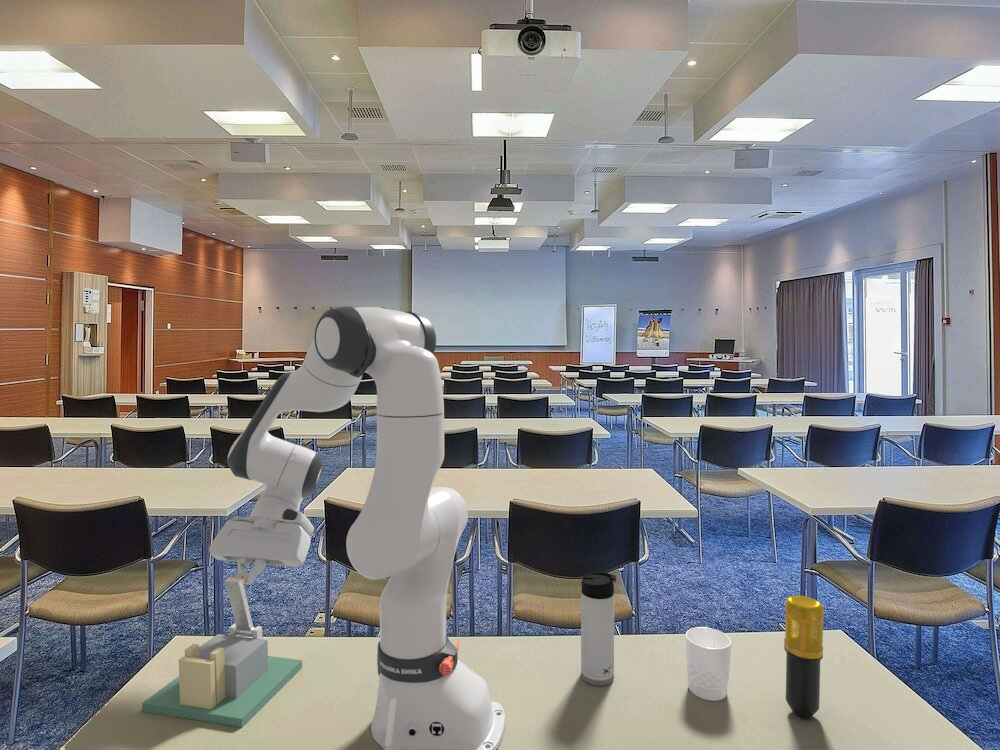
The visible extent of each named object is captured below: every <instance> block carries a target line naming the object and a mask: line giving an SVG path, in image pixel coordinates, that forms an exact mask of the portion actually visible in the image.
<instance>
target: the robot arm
mask: <svg viewBox="0 0 1000 750" xmlns="http://www.w3.org/2000/svg"><path fill="white" fill-rule="evenodd" d="M436 346H437V335H436V330H435V328H434V325H433V324H432V322H431V321H430V320H429V319H428V318H427V317H425V316H423V315H421V314H419V313H416V312H413V311H400V310H396V309H387V308H384V307H379V306H360V307H359V306H357V307H353V306H349V305H347V306H345V305H344V306H340V307H339V306H338V307H333V308H331V309H329V310H325V312H324V313H322V314H321V316H320V318H319V319H318V321H317V323H316V325H315V330H314V337H313V339H312V341H311V344H310V346H309V347H308V350H307V351H306V355H305V357H304V359H303V362H302V364H301V366H300V367H298V368H297V369H296V370H294V371H293V372H286V373H283V374H281V376H279V377H278V378H277V380H276V381H275V382H274V383H273V385H272V386H271V388H270V390H269V391H268V393H266V395H265V397H264V399H263V400H262V402H261V403H260V405H259V407H258V408H257V410H256V411H255V413H254V414H253V416H252V418H251V420H249V423H248V424H247V426H246V427H245V429H244V431H243V432H242V433H241V434H240V435H239V436H237V438H236V440H235V441H234V442H233V443H232V445H231V447H230V449H229V452H228V454H227V460H226V462H227V465H228V467H229V470H230V471H231V473H232V475H234V476H235V477H237V478H241V479H245V480H248V481H249V480H250V481H254V482H257V483H261V484H264V485H265V489H264V491H263V492H262V493H261V495H259V497H258V499H257V501H256V503H255V505H254V507H253V509H252V511H251V513H250V515H249V516H239V515H238V516H234V517H233V518H231V519H229V520H227V521H226V522H224V523H225V524H224V525H223V526H222V528H221V529H220V530H219V532H218V533H217V535H216V536H215V538H214V539H213V541H212V542H211V544H210V546H209V549H208V550H209V554H210V556H212V557H213V558H214V559H215V560H218V561H223V562H224V561H225V562H235V563H236V562H237V564H236V565H237V574H236V576H235V577H240V578H244V579H245V583H244V584H243V585H250V586H252V585H253V583H254V581H255V579H256V578H257V577H258V576H259V575H260V574H261V573H262V572H263V571H264V570H265V569H266V567H267V565H271V566H281V567H282V566H283V567H293V568H299V567H300V566H302V564H303V563H305V560H306V559H307V556H308V554H309V553H308V552H309V549H310V547H311V541H312V539H311V535H312V534H313V533H314V530H315V526H314V525H313V523H312V522H311V521H310V520H309V518H308V517H307V516H305V515H304V514H303V513H302V512H300V509H301V508H300V507H301V503H302V501H303V500H304V499H305V498H307V497H309V496H311V495H312V494H314V493H315V491H316V485H317V484H318V481H319V479H320V478H321V476H322V474H323V472H324V468H325V466H324V462H323V460H322V458H321V455H320V454H319V453H318V452H316V451H314V450H313V449H310V448H307V447H305V446H302V445H299V444H295V443H293V442H289V441H287V440H285V439H282V438H279V437H276V436H274V435H272V434H271V433H270V432H269V430H270V429H271V427H272V426H273V424H274V422H275V421H276V419H277V418H278V416H279V415H280V414H281V413H284V412H285V413H286V412H293V411H294V412H295V411H296V412H297V411H299V412H300V411H301V412H302V411H303V412H311V413H313V412H315V413H325V412H331V411H334V410H337V409H340V408H341V407H344V406H345V405H346V404H348V403H349V402H350V401H351V399H352V397H353V396H354V394H355V392H356V391H357V390H358V387H359V385H360V383H361V380H362V378H363V375H364V374H365V373H366V374H368V375H369V376H370V377H371V378H372V380H373V381H374V383H375V386H376V459H375V466H374V473H373V476H372V480H371V483H370V484H371V485H370V488H369V491H368V494H367V496H366V499H365V501H364V504H363V507H362V509H361V511H360V513H359V515H358V517H357V518H355V520H354V522H353V523H352V524H351V526H350V527H349V530H348V532H347V535H346V554H347V557H348V559H349V562H350V564H351V565H352V567H353V568H354V569H355V570H356V571H357V572H358V573H359V575H360V576H362V577H364V578H365V579H368V580H373V581H376V580H383V579H387V578H389V580H388V582H387V583H386V585H385V587H384V588H383V590H382V593H381V595H380V597H379V598H380V599H379V641H378V644H377V654H376V657H377V658H376V664H377V665H376V666H377V675H378V676H379V679H378V681H379V682H378V691H377V697H376V704H375V709H374V710H375V711H374V714H373V718H372V722H371V724H370V731H371V735H372V738H373V739H374V741H376V743H377V744H378V745H379V746H380V747H382V750H496V749H497V750H498V748H499V746H500V744H501V742H502V740H503V736H504V734H505V733H504V732H505V730H506V729H505V728H506V716H505V715H506V714H505V711H504V708H503V706H502V704H501V703H499V702H496V701H494V700H492V695H491V693H490V692H491V691H490V688H489V685H488V683H487V681H486V680H485V679H484V677H481V676H480V675H479V674H477V673H476V672H474V671H473V670H472V669H471V668H470V667H469V666H467V665H466V664H465V663H463V662H462V661H461V660H460V659H458V657H459V656H458V651H459V649H460V640H459V639H458V640H457V641H456V643H455V645H454V644H453V643H452V642H451V640H450V639H449V637H448V635H447V598H448V597H447V596H448V589H449V583H450V578H451V573H452V570H453V569H452V568H453V566H454V565H453V564H454V559H455V555H456V551H457V547H458V545H459V541H460V538H461V536H462V534H463V532H464V530H465V529H466V526H467V524H468V519H469V511H468V506H467V503H466V501H465V499H464V498H463V497H462V495H461V494H460V493H459V492H458V491H457V490H455V489H454V488H451V487H448V486H433V484H434V480H435V478H436V476H437V474H438V472H439V470H440V469H441V466H442V465H443V463H444V459H445V402H444V401H445V400H444V390H443V389H444V388H443V382H442V376H441V370H440V366H439V362H438V359H437V357H436V356H435V355H434V354H435V351H436V348H437V347H436ZM251 564H253V565H254V566H253V567H252V568H251V569H250V570H249V572H247V571H246V570H247V569H248V568H249V567H250V566H251ZM246 568H247V569H246ZM501 739H502V740H501Z"/></svg>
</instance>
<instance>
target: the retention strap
mask: <svg viewBox="0 0 1000 750" xmlns="http://www.w3.org/2000/svg"><path fill="white" fill-rule="evenodd" d="M224 582H225V587H226V591H227V595H228V596H227V597H228V599H229V603H230V604H229V605H230V606H231V607H230V608H231V612H232V615H233V621H234V624H236V630H235V634H236V635H239V636H240V637H249V638H253V633H252V630H253V629H254V628H255V627H254V625H253V619H252V615H251V612H250V607H249V604H248V598H247V595H246V590H245V584H244V583H245V579H244V578H240V577H236V576H229V577H227V578H226V579H225V580H224Z"/></svg>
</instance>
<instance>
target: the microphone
mask: <svg viewBox="0 0 1000 750" xmlns="http://www.w3.org/2000/svg"><path fill="white" fill-rule="evenodd" d="M784 606H785V608H784V613H785V631H784V632H785V635H784V644H783V645H784V646H783V647H784V652H786V661H785V662H786V666H785V667H786V670H785V701H786V704H787V705H788V707H789V708H790V710H791V712H792V713H793V715H794V716H796V717H797V718H799V719H801V720H811V719H812V718H813V717H814V715H816V713H817V712H818V711H819V710H820V697H821V695H820V691H821V687H820V685H821V684H820V683H821V660H822V659H823V658H824V646H823V645H824V644H823V642H824V641H823V638H824V637H823V636H824V634H823V633H824V621H825V619H824V618H825V615H824V613H825V612H824V610H825V609H824V606H823V604H822V603H821V602H820V601H819V600H817V599H814V598H812V597H809V596H804V595H791V596H789V597H787V598H786V599H785V605H784Z"/></svg>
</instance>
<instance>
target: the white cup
mask: <svg viewBox="0 0 1000 750" xmlns="http://www.w3.org/2000/svg"><path fill="white" fill-rule="evenodd" d="M731 649H732V640H731V638H730V636H728V635H727V634H726V633H725V632H722V631H721V630H718V629H715V628H710V627H706V626H701V627H700V626H697V627H691V628H690V629H688V630H687V631H686V632H685V651H686V652H685V656H686V670H687V672H686V673H687V687H688V689H689V690H690V691H689V692H691V693H692V694H693V695H694V696H696V697H698V698H699V699H702V700H705V701H709V702H711V701H712V702H714V701H715V702H716V701H722V700H723V699H725V698H727V695H728V684H729V678H730V676H729V675H730V668H731V667H730V666H731V651H732V650H731Z"/></svg>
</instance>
